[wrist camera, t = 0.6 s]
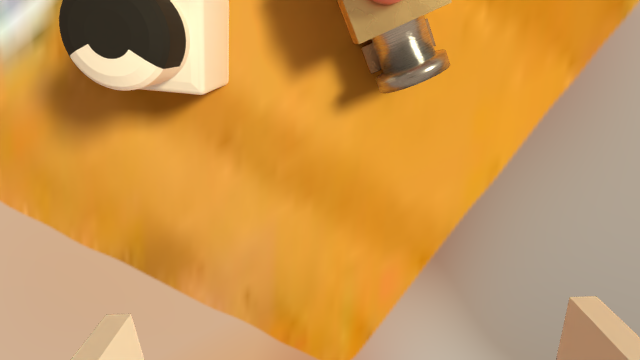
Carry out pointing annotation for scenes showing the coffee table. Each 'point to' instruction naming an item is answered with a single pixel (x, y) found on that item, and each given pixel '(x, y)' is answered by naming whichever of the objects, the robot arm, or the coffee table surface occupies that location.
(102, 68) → the container
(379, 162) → the coffee table surface
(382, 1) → the lever
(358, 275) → the coffee table surface
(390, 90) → the valve pipe
